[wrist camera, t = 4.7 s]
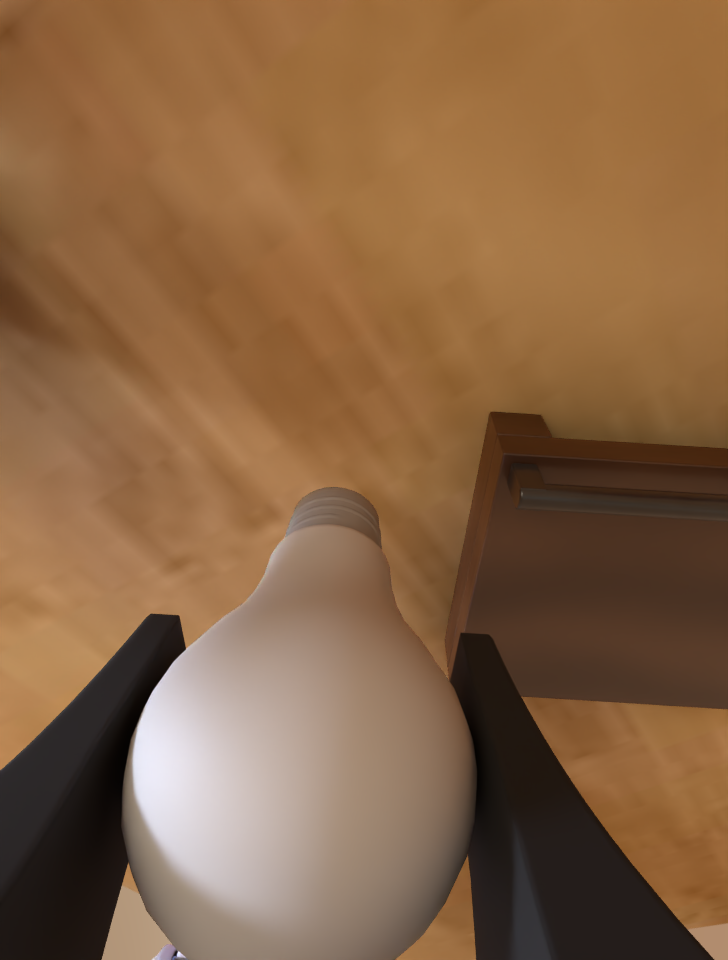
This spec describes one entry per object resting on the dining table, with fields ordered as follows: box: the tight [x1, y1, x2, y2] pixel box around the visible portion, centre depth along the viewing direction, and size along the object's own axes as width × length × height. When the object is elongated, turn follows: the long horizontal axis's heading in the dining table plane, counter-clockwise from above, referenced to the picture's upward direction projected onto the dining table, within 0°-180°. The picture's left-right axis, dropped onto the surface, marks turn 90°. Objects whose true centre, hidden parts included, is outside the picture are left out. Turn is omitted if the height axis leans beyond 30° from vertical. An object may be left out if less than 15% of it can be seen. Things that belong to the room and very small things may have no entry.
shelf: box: [445, 412, 728, 709], centre depth 21 cm, size 12×15×4 cm
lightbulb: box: [121, 487, 477, 960], centre depth 12 cm, size 6×6×11 cm
